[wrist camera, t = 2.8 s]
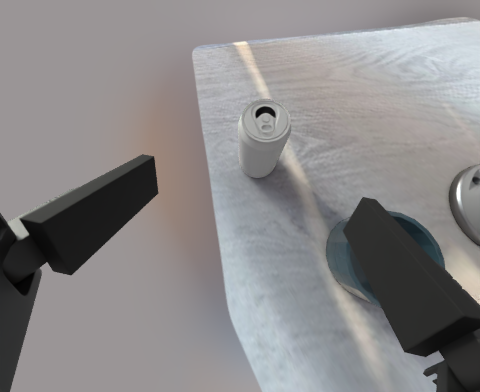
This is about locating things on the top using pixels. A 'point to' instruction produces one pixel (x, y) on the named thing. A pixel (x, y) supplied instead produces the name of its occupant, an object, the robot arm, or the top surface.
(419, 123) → the top surface
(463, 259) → the top surface
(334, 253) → the bowl
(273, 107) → the beverage can
